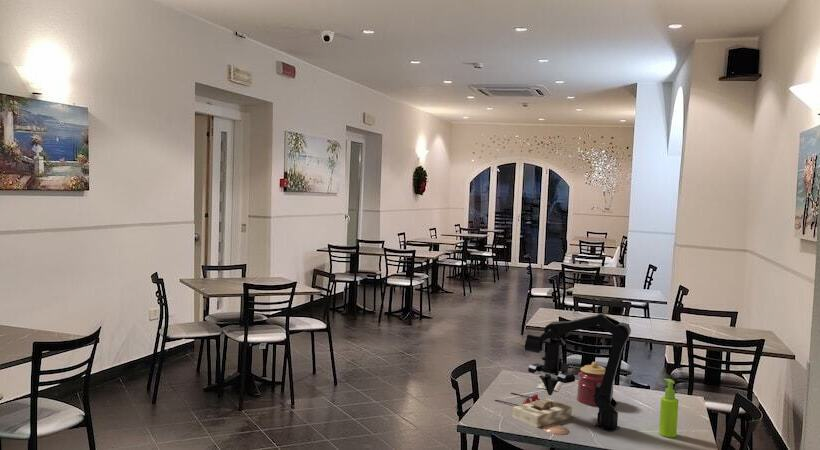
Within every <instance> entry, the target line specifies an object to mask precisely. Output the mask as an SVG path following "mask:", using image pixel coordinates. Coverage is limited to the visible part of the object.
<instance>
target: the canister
mask: <svg viewBox="0 0 820 450" xmlns="http://www.w3.org/2000/svg"><path fill="white" fill-rule="evenodd" d="M605 370H606V367H604V366H603V365H599V363H598V362H597V361H592V362H591V364H586V365H584V366H581V367H580V372H578V373H577V376H578V377H579V378H578V381H577V395H576V401H578V402H579V403H580V404H582V405H586V406H588V407H589V406H590V407H596V408H599V407H598V406H597V405H596V404H595V402H594V397H593V395H594V394H595V387H596V385H597V384H598V383H600V384H601V383H602V381H603V378H604V374H605Z"/></svg>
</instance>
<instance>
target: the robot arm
mask: <svg viewBox="0 0 820 450" xmlns="http://www.w3.org/2000/svg"><path fill="white" fill-rule="evenodd" d="M597 326H600V327H601V328H603V329H604V330H605V331H606V332H607V333H610V335H611V348H610V352H609V356H608V360H607V364H606V367H605V369H606V370H605V374H604V378H603V381H602V383H601V384H600V383H598V384H597V385H596V387H595V394H594V395H593V397H594V402H595V404H596V405H597V406H598V407H597V408H598V412H597V419H596V421H597V422H596V424H595V427H597V428H600V429H603V430H605V431H608V432H612V431H615V430H619V429H621V426H619V425H618V423H619V422H618V420H619V416H618V415H619V412H617V411H616V409H617V408H618V406H619V403H618V402H617V401H616V399H615V398H614V381H615V378H616V374H617V369H618V367H619V363H620V359H621V356H622V352H623V349H624V346H625V345H626V343H627V341H628V340H629V337H630V335H631V333H632V329H631V326H630V325H629V324H628V323H626V322H620V321H618V320H617V319H615V318H612V317H609V316H608V315H606V314H605V313H602V312H601V313H598V314H594V315H590V316H587V317H581V318H578V319H577V318H576V319H573V320H568V321H566V320H565V321H563V320H560V321H559V320H558V321H551V322H550V323H548V324H547V325H545V327H544V329H543V331H544V332H543V333H541V335H535V334H532V333H528V334H526V339H525V343H524V351H525V352H527V353H528V352H529V353H536V354H541V353H542V352H543V351H544V356H542V358H541V360H542V361H543V363H542V364H541V363H533V364H529V366H528V368H527V369H528V371H527V373H531V374H536V373H537V372H538V373H540V375H539V376H538V377H539V378H540V379H541V381H542V382H543V383H544V385H545V388H546V389H545V390H546V392H547V395H548V396H552V395H553V393H554V391H555V390H554V388H555V386H556V384H557V383H558V381H559V382H562V384H569V383H574V382H576V375H575V374H574V373H571V372H568V371H569V368H570V364H569V363H566V362H563V358H562V357H560V354H561V346H564V345H566V341H565V340H564V339H563V337H562V336H564V335H565V334H568V333H571V332H574V331H579V330H584V329H589V328H593V327H597ZM558 337H561V338H559V339H556V338H558ZM549 339H550V340H549Z"/></svg>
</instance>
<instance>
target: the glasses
mask: <svg viewBox="0 0 820 450" xmlns="http://www.w3.org/2000/svg"><path fill="white" fill-rule="evenodd" d="M509 394H513V395H517V396H521V397H525V398H526V399H524V400H523V402H522V404H527V403H531V402H535V401H536V399H537V400H541V399H540V398H539V395H538V394H534V395H532V396H529V395H524V394H519V393H516V392H510V393H509ZM493 402H501V403H505V404H508V405H509V404H510V405H513V406H519V405H520V404H516V403H512V402H508V401H504V400H500V399H495V400H494V401H493Z"/></svg>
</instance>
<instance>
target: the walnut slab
mask: <svg viewBox="0 0 820 450" xmlns="http://www.w3.org/2000/svg"><path fill="white" fill-rule="evenodd" d="M540 400H541V399H540ZM540 400H537V399H536V401H535V403H534V404H533V405H534V406H535V408H536V409H537V410H539V411H542V410H546V409H549V406H548V405H547V404H546V403H545V402H542V401H540Z"/></svg>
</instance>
